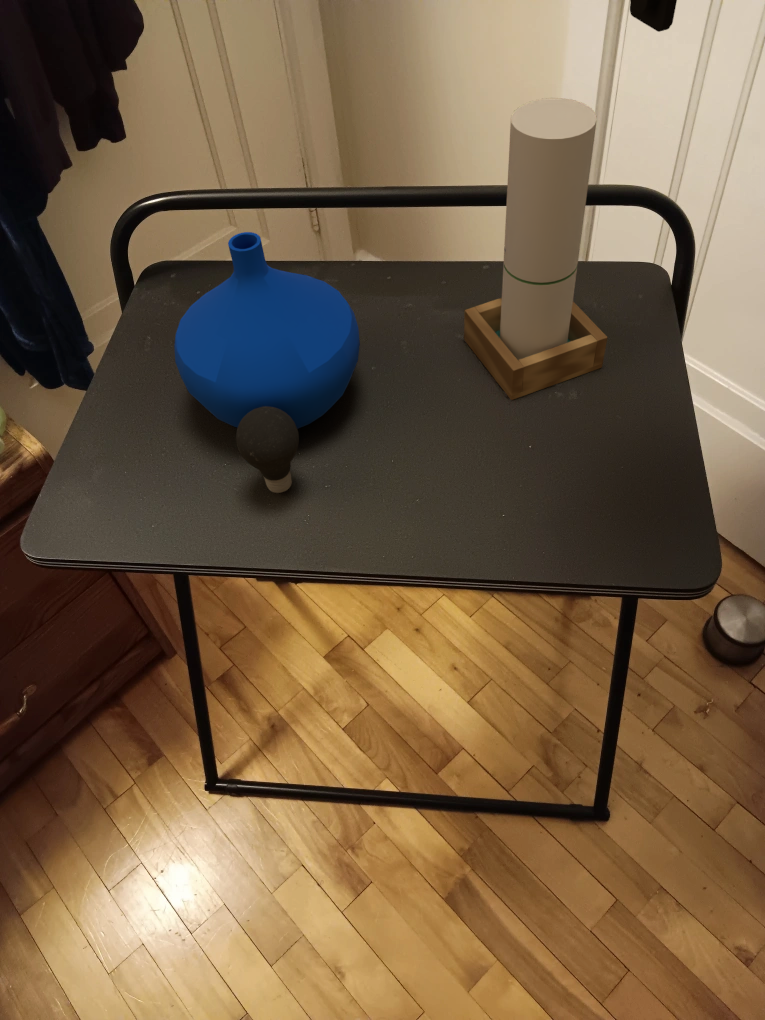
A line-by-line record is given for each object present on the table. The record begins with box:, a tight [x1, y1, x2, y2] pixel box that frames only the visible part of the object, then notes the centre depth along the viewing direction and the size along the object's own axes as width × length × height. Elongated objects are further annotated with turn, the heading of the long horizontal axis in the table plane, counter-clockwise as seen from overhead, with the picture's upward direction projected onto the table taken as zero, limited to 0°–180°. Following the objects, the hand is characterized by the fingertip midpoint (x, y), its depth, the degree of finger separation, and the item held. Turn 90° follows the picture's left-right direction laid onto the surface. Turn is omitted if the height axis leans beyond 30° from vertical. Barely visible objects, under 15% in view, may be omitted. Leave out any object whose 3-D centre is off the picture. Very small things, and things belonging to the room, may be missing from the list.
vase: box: [173, 231, 361, 430], centre depth 81 cm, size 18×18×19 cm
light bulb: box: [235, 406, 300, 494], centre depth 76 cm, size 6×6×10 cm
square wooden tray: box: [463, 297, 608, 401], centre depth 88 cm, size 11×11×4 cm
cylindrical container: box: [500, 97, 598, 360], centre depth 79 cm, size 7×7×25 cm
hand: (721, 2), depth 48 cm, fingers open, 9 cm apart
